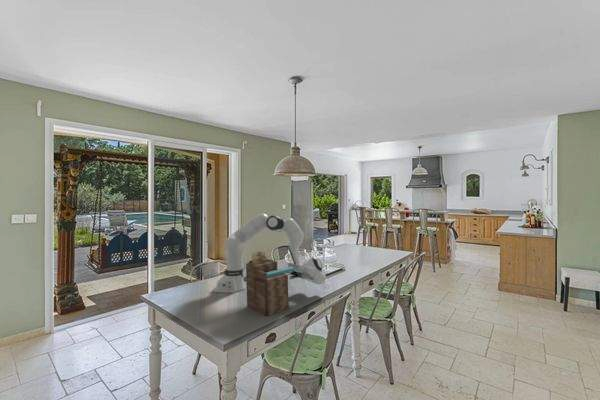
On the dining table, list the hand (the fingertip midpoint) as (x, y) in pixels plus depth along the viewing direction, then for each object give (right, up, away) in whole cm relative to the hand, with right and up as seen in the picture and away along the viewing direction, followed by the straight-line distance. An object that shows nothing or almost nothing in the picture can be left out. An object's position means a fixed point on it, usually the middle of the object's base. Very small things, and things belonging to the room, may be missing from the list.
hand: (293, 265), depth 178 cm
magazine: (+10, -22, +66) cm, 70 cm away
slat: (-9, -4, -8) cm, 12 cm away
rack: (-15, -24, -7) cm, 29 cm away
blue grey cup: (-34, -23, +61) cm, 74 cm away
